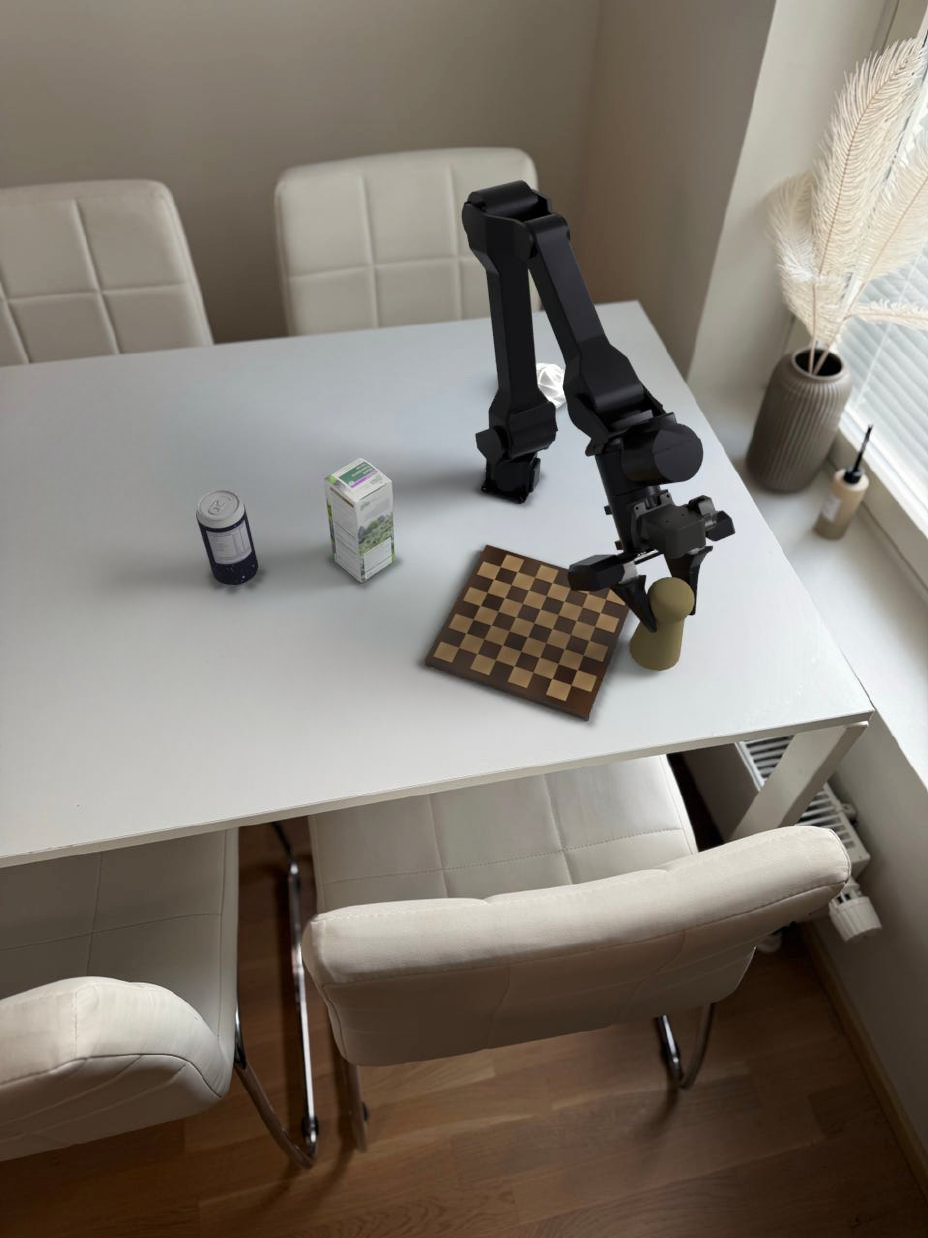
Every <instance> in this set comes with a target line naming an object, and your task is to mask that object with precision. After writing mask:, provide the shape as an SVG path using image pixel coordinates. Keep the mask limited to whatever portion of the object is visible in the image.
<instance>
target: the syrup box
mask: <svg viewBox="0 0 928 1238" xmlns="http://www.w3.org/2000/svg"><path fill="white" fill-rule="evenodd" d="M323 483H324V494H325V502H326V509H327V518H328V519H327V520H328V525H329V527H328V528H329V534H330V542H331V552H332V560H333V561H334V562H335V563H336V564H337V565H339V566H340V567H341V568H342V569H344V570H345V571H346V572H347V573H348V574H349V575H350V576H352V577H353V578H354V579H356V580H357V581H358V582H359V583H361V584H364V583H366V582H367V581H368V580H370V579H372V578H373V577H374V576H376V575H378V574H379V573H380V572H381V571H383V570H384V569H386V568H388V567H389V566H390V565H392V564H394V563H395V561H396V557H395V556H396V555H395V554H396V553H395V532H394V531H395V529H394V527H395V525H394V503H393V502H394V501H393V481H392V480H391V479H390V478H389V477H387V475H385V474H384V473H383V472H382V471H381V470H380V469H378V468H377V467H376V466H374V465H373V464H372V463H370V462H369V461H367V460H366V459H364V458H363V457H361V456H359V457H358V458H357V459H355V460H353V461H352V462H349V463H348V464H346V465H345V466H342V468H340V469H338V470H336V471H335V472H333V473H332V474H330V475H328V476H326V477H324V478H323Z"/></svg>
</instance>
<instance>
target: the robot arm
mask: <svg viewBox="0 0 928 1238" xmlns="http://www.w3.org/2000/svg"><path fill="white" fill-rule="evenodd" d="M553 207H554V206H553V199H552V198H551V197H550V196H547V195H545V194H543V193H542V192H541V191H538V190H537V189H535V188H531V186H530V185H529V184H528V182H527V181H524V180H523V179H519V180H515V181H511V182H506V183H503V184H502V183H501V184H498V185H495V186H490V187H486V188H481V189H477V190H474V191H471V192H470V193H469V194H468V196H467V199H466V201H464V202H463V205H462V208H461V224H462V227H463V230H464V232H465V234H466V238H467V244H468V248H469V250H470V251H471V252H472V254H473V255H474V256H475V258H476V259H477V260H478V262H479V263H480V265H481V266H482V267H483V268H484V270H485V276H486V286H487V295H488V302H489V312H490V323H491V330H492V340H493V351H494V358H495V359H494V360H495V369H496V377H497V390H496V393H495V395H494V397H493V399H492V401H491V403H490V406H489V408H488V411H487V412H488V413H487V415H488V428H487V429H484V430H481V431H479V432H476V433H475V434H474V437H475V444H476V449H477V450H478V451H479V452H480V453H481V455H482V456H483V457H484V458H485V476H484V477H485V478H484V480H483V482H482V484H481V485H480V491H481V492H483V493H485V494H488V495H491V496H496V497H499V498H502V499H506V500H509V501H512V502H516V503H520V504H525V503H526V502H527V500H528V498H529V496H530V494H531V493H534V491H535V489H536V487H537V486H538V483H539V481H540V472H541V462H542V459H541V458H540V457H538V454H539V452H541V451H546V450H548V449H549V448H550V446H551V445H552V444H553V443H554V442H555V441H556V439H557V432H559V428H558V422H557V414H556V413H557V409H556V406H555V405H554V403H553V402H552V401H549V400H548V399H547V398H546V396H545V395H544V394H543V392H542V391H541V390H540V389H539V387H538V381H537V369H536V363H537V358H536V346H535V336H534V335H535V333H534V332H535V331H534V323H533V322H534V321H533V309H532V298H531V297H532V296H531V286H530V276H531V279H532V281H533V284H534V286H535V289H536V292H537V294H538V297H539V298H540V301H541V302H540V303H541V304H542V307H543V309H544V312H545V314H546V317H547V319H548V322H549V324H550V327H551V329H552V332H553V335H554V337H555V340H556V342H557V346H558V348H559V351H560V352H561V355H562V359H563V362H564V364H565V367H564V372H565V373H564V379H563V385H562V388H563V392H564V395H565V398H566V402H565V403H566V408H567V409H566V410H567V414H568V417H569V420H570V421H571V423H572V424H573V426H574V427H575V428H576V429H577V430H579V431H581V432H582V433H583V434H584V435H586V436H587V437H589V439H590V440H589V442H588V444H587V445H586V447H585V450H584V455H585V457H587V458H590V457H594V460H595V463H596V466H597V469H598V473H599V476H600V481H601V483H602V486H603V489H604V492H605V496H606V500H607V502H608V504H607V505H604V506H603V510H604V513H605V516H612V519H613V523H614V526H615V529H616V532H617V535H618V540H616V541H614V545H615V548H616V549H615V550H616V551H621V552H620V553H616V554H594V555H591V556H588V557H586V558H584V559H581V560H579V561H576V562H573V563H571V564H569V566H568V568H567V569H568V574H567V578H568V581H569V585H570V588H571V590H572V591H589V592H595V591H599V590H602V589H605V588H610V589H611V590H612V591H613V592H614V593H615V594H616V595H617V596H618V597H619V598H620V599H621V600H622V601H623V602H624V603H625V604H626V605H627V606H628V607H629V608H630V611H631V612H632V613H633V615H635V617H636V618H637V619H638V621H639V622H640V621H641V622H642V624H643V625H644V626H645V627H646V628H647V629H648V631H649V632H651V633H655V632H657V626H656V621H655V618H654V615H653V612H652V609H651V606H650V603H649V600H648V597H647V591H646V583H647V574H639V573H638V569H637V567H636V566H638V565H640V564H643V563H645V562H647V561H650V560H652V559H655V558H657V557H659V556H663V558H664V561H665V563H666V566H667V569H668V571H669V574H670V577H675V578H678V579H681V580H682V581H684V582H686V583H687V584H688V585H689V586H690V588H691V589H692V591H693V593H694V601H695V602H694V606H693V609H692V611H691V612H690V614H689V615H688V617H689V616H691V617H693V616H695V615H696V612H697V599H698V586H699V585H698V584H699V577H700V576H699V575H700V570H701V565H702V563H703V561H704V560H705V558H706V556H707V555H708V554H709V553H711V552H713V550H714V545H707V539H708V540H709V541H711V542H713V543H717V542H719V541H721V540H724V539H726V538H728V537H730V536H733V535H735V534H736V529H735V525H734V522H733V518H732V517H731V516H730V515H729V514H728V513H727V512H725V510H716V507H715V504H714V502H713V499H712V497H710V496H707V495H705V494H701V495H699V496H696V497H694V498H692V499H689V501H688V502H687V503H684V504H681V505H676V503H675V502H674V500H673V496H672V494H671V492H669V488H665V489H661V486H664V485H671V484H678V483H685V482H688V481H690V480H691V479H692V478H694V477H695V476H696V475H697V473H698V472H699V470H700V469H701V467H702V464H703V461H704V446H703V443H702V440H701V437H699V436H698V435H697V434H696V432H695V431H694V430H693V429H692V428H691V427H689V426H688V425H686V424H683V423H679V422H678V421H677V417H676V414H675V411H671V412H667V411H666V410H665V409H664V405H663V404H662V402H660V401H659V400H658V399H657V398H656V397H655V396H654V395H653V394H652V393H651V392H650V390H649V389H648V388H647V387H646V386H645V384H643V382H642V381H641V379H640V378H639V376H638V374H637V372H636V370H635V368H634V367H633V365H632V363H631V361H630V359H629V357H628V356H627V355H625V354H624V353H623V352H622V351H620V349H618V348H616V347H615V346H614V345H612V344H611V342H610V340H609V338H608V336H607V334H606V332H605V329H604V327H603V323H602V321H601V319H600V316H599V314H598V312H597V309H596V305H595V304H594V302H593V299H592V296H591V294H590V291H589V288H588V286H587V283H586V281H585V278H584V276H583V273H582V271H581V268H580V266H579V263H578V260H577V258H576V255H575V253H574V250H573V248H572V245H571V230H570V227H569V223H568V221H567V219H566V218H565V217H564V216H563V215H561V214H560V213H559V212H556V211H555V210H554V209H553Z"/></svg>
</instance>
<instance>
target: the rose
mask: <svg viewBox="0 0 928 1238" xmlns="http://www.w3.org/2000/svg"><path fill="white" fill-rule="evenodd" d="M536 369H537V381H538V387H539V389H540V390H541V391H542V392H543V394H544V395H545V396H546V398H547V399H548V400H549V401H552V402H553V403H554V405H555V406H556V410H558V409H559V408H560V407H561V406H562V405H563V404H565V403H567V402H566V398H565V395H564V392H563V388H562V385H563V379H564V373H565V369H563V368H561V367H560V366H558V365H557V364H555V363H546V362H536Z"/></svg>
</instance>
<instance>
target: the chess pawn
mask: <svg viewBox="0 0 928 1238" xmlns="http://www.w3.org/2000/svg"><path fill="white" fill-rule="evenodd" d="M646 594H647V597H648V600H649V603H650V606H651V609H652V612H653V615H654V618H655V621H656V626H657V632H655V633H651V632H649V631H648V629H647V628H646V627H645V626H644V625H643V624H642V622H641V621H640V620H639V622H638V624H637V626H636V628H635V630H634V632H633V634H632V636H631V638H630V640H629V643H628V653H629V654H630V657H631V658H632V660H633V661H634V662H635V663H636V664H637V665H638V666H640V667H642V668H644V669H646V670H649V671H655V672H662V671H667V670H669V669H671V668H673V667H675V666H676V664H677V663H678V662H679V660H680V657H681V653H682V652H681V651H682V646H683V645H682V644H683V637H684V630H685V629H684V627H685V622H686V621H685V620H686V619H687V618H688V617H689V614H690V612H691V611H692V609H693V606H694V602H695V601H694V593H693V591H692V589H691V588H690V586H689V585H688V584H687V583H686V582H684V581H682V580H681V579H678V578H675V577H671V576H666V577H661V578H659V579H657V580H655V581H653V582H652V583H651V585H650V586H649V588H648V589H647V591H646Z"/></svg>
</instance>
